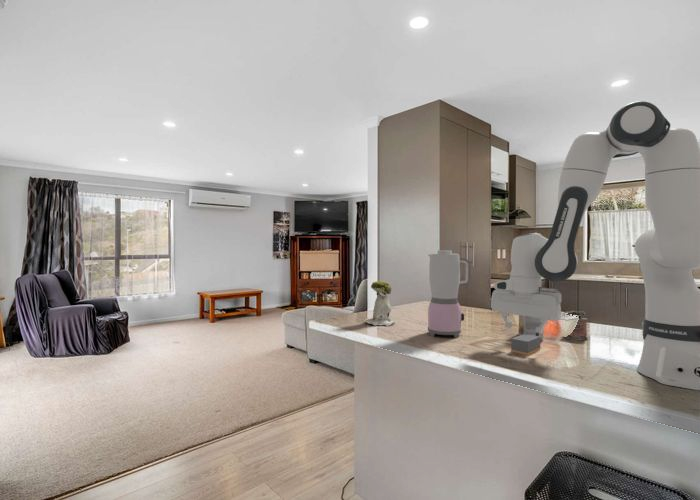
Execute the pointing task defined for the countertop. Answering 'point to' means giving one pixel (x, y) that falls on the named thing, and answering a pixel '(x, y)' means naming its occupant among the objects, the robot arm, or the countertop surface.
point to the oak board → (503, 346)
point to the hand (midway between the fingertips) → (523, 330)
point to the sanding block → (525, 344)
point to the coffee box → (529, 326)
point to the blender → (446, 293)
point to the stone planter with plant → (381, 304)
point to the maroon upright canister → (578, 327)
